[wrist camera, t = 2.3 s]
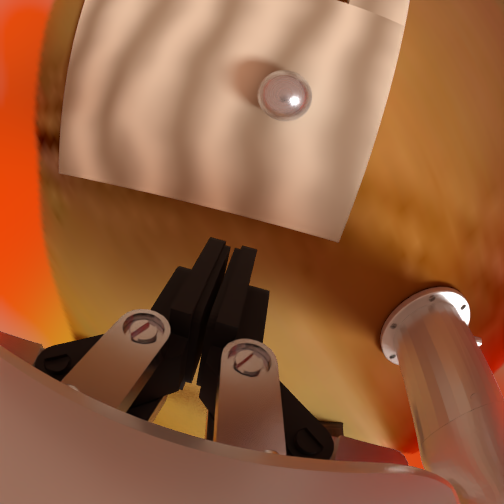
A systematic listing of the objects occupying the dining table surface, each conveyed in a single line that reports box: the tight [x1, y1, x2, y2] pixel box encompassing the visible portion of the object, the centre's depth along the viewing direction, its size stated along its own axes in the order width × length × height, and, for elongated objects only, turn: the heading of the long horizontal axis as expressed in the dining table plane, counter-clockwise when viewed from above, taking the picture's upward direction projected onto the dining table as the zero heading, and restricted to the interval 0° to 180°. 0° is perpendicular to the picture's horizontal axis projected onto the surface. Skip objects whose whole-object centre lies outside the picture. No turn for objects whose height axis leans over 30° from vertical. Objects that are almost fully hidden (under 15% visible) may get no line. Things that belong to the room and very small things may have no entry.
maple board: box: [59, 0, 410, 243], centre depth 19 cm, size 30×32×2 cm
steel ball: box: [257, 70, 312, 121], centre depth 19 cm, size 4×4×4 cm
